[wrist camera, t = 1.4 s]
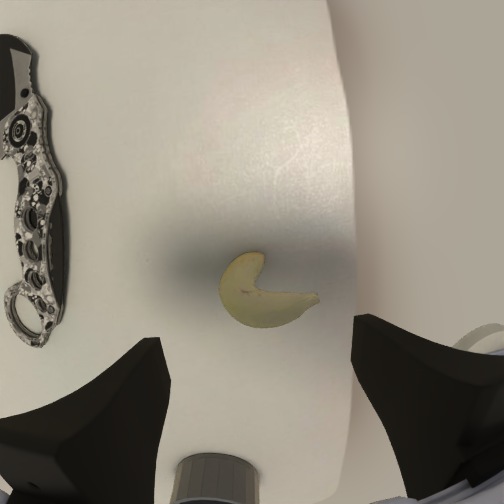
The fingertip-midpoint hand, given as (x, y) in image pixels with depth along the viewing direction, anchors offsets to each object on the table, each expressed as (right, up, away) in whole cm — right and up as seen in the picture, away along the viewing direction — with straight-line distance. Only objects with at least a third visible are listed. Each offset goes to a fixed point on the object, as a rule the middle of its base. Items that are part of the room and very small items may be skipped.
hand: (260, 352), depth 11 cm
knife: (-18, +9, +8) cm, 22 cm away
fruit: (0, +3, +10) cm, 10 cm away
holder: (-4, -19, +15) cm, 25 cm away
